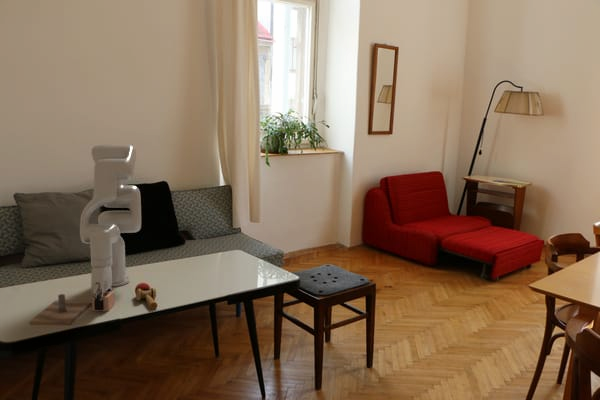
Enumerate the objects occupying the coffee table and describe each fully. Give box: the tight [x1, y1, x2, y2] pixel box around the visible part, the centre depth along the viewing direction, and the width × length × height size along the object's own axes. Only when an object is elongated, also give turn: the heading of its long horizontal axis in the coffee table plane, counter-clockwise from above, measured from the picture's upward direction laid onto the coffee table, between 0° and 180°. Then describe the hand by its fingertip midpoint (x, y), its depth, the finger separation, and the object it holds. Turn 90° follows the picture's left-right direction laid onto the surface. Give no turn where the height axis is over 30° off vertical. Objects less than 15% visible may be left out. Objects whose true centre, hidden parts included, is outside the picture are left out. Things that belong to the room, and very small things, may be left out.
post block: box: [29, 293, 93, 326], centre depth 195 cm, size 20×14×7 cm
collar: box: [91, 291, 115, 312], centre depth 201 cm, size 6×6×6 cm
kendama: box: [134, 282, 158, 310], centre depth 209 cm, size 8×6×18 cm
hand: (103, 305), depth 201 cm, fingers open, 8 cm apart
